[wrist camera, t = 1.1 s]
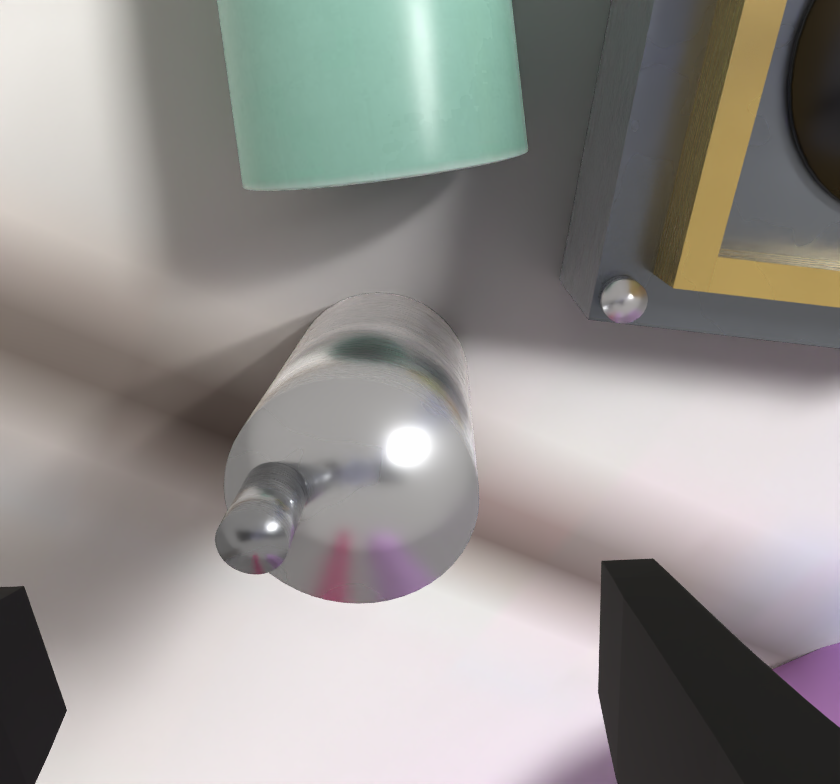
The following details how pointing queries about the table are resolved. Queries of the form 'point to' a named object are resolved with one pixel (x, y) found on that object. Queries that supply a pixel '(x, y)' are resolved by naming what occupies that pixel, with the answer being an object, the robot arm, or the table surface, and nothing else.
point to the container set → (817, 679)
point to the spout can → (357, 458)
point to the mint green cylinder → (370, 89)
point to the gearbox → (713, 171)
